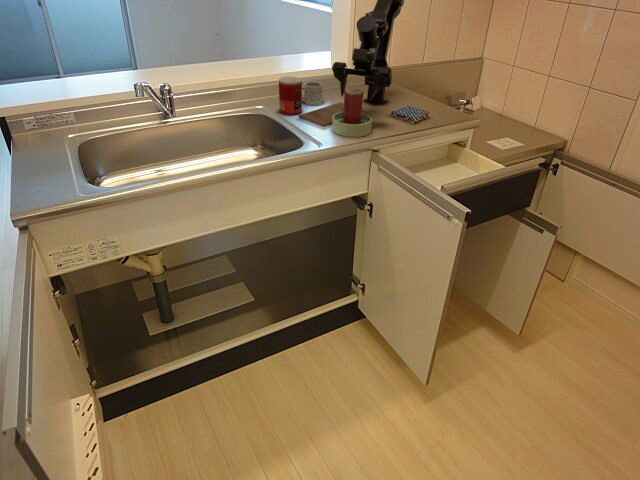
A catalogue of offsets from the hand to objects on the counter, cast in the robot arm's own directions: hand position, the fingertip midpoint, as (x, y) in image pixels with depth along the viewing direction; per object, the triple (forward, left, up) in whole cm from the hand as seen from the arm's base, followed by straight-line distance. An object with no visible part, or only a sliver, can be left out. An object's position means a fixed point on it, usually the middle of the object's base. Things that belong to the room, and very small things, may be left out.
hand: (355, 97), depth 137 cm
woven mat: (-23, +6, -10) cm, 26 cm away
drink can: (+3, +1, -10) cm, 10 cm away
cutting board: (-3, -12, -10) cm, 16 cm away
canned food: (+4, -26, -10) cm, 28 cm away
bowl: (+3, +1, -10) cm, 11 cm away
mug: (-8, -29, -10) cm, 32 cm away
